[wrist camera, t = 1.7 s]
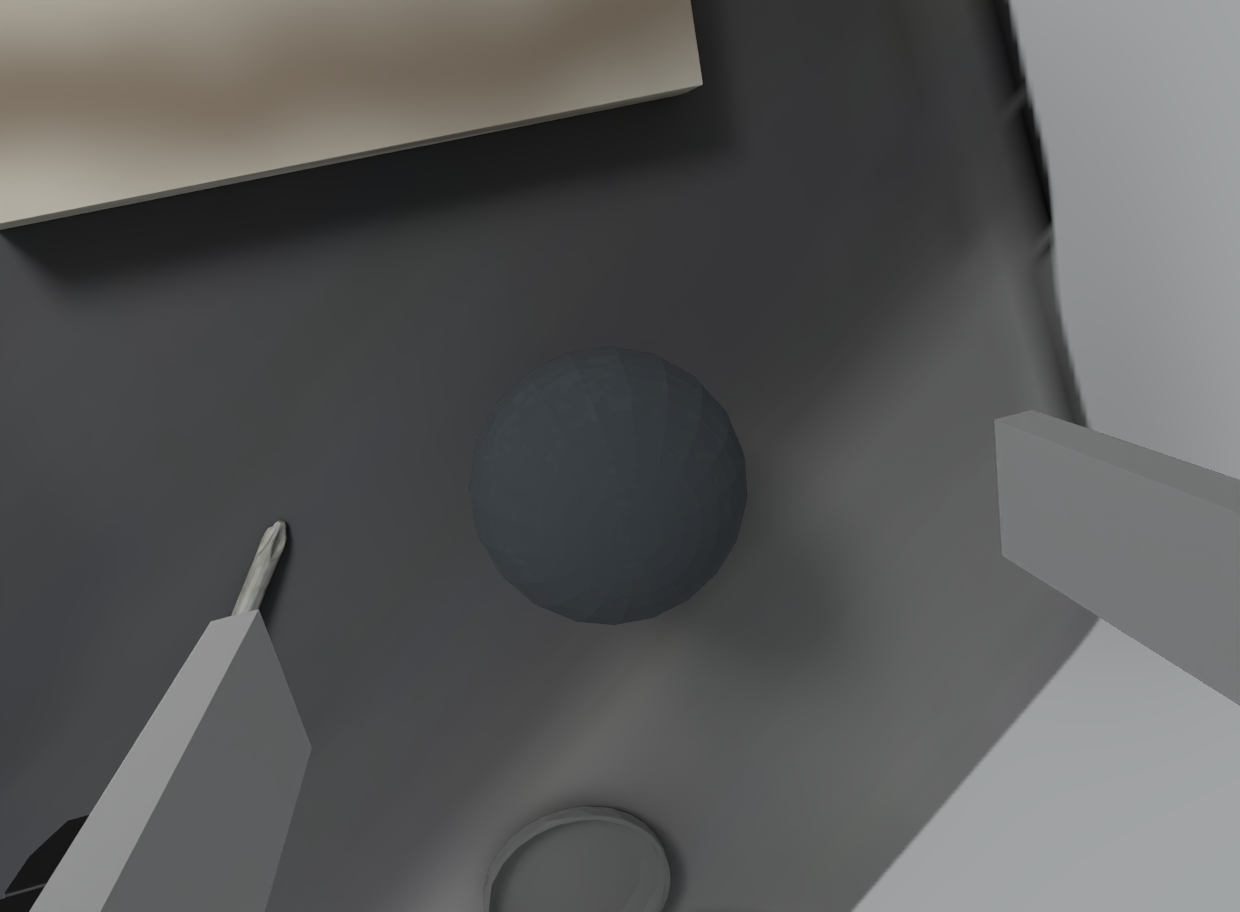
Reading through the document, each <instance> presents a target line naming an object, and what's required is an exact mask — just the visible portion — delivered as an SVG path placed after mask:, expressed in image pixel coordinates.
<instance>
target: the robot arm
mask: <svg viewBox="0 0 1240 912" xmlns="http://www.w3.org/2000/svg"><path fill="white" fill-rule="evenodd" d="M994 426H995V443H996V461H997V478H998V495H999V513H1000V530H1001V547H1002V556H1003V557H1005V558H1006V559H1008V560H1010V561H1011V562H1013V563H1014V564H1016V565H1018V566H1019V567H1021V568H1022V569H1024V570H1025V571H1027V572H1029V573H1030V574H1032V575H1033V576H1035V577H1037V578H1038V579H1040V580H1041V581H1043V582H1045V583H1046V584H1048V585H1049V586H1051V587H1052V588H1054V589H1056V590H1057V591H1059V592H1060V593H1062V594H1064V595H1065V596H1067V597H1068V598H1070V599H1072V600H1073V601H1075V602H1076V603H1078V604H1079V605H1081V606H1083V607H1084V608H1086V609H1087V610H1089V611H1091V612H1092V613H1094V614H1095V615H1097V616H1099V617H1100V618H1102V619H1103V620H1105V621H1107V622H1108V623H1110V624H1111V625H1113V626H1114V627H1116V628H1118V629H1119V630H1121V631H1122V632H1124V633H1126V634H1127V635H1129V636H1130V637H1132V638H1134V639H1136V640H1137V641H1138V642H1140V643H1141V644H1143V645H1145V646H1146V647H1148V648H1150V649H1151V650H1153V651H1154V652H1156V653H1158V654H1159V655H1161V656H1162V657H1164V658H1165V659H1167V660H1168V661H1170V662H1172V663H1173V664H1175V665H1176V666H1178V667H1180V668H1181V669H1183V670H1184V671H1186V672H1188V673H1189V674H1191V675H1192V676H1194V677H1196V678H1197V679H1199V680H1200V681H1202V682H1203V683H1205V684H1207V685H1208V686H1210V687H1212V688H1213V689H1215V690H1216V691H1218V692H1219V693H1221V694H1223V695H1224V696H1226V697H1227V698H1229V699H1230V700H1232V701H1234V702H1235V703H1237V704H1238V705H1240V480H1238V479H1235V478H1232V477H1229V476H1226V475H1223V474H1221V473H1218V472H1215V471H1212V470H1209V469H1205V468H1202V467H1200V466H1197V465H1194V464H1191V463H1188V462H1185V461H1182V460H1179V459H1176V458H1173V457H1170V456H1167V455H1164V454H1162V453H1159V452H1156V451H1153V450H1149V449H1147V448H1144V447H1141V446H1138V445H1135V444H1132V443H1129V442H1126V441H1123V440H1120V439H1117V438H1114V437H1111V436H1108V435H1105V434H1103V433H1099V432H1097V431H1094V430H1091V429H1088V428H1085V427H1082V426H1079V425H1076V424H1073V423H1070V422H1067V421H1064V420H1061V419H1058V418H1055V417H1052V416H1049V415H1046V414H1044V413H1041V412H1038V411H1035V410H1030V411H1026V412H1022V413H1018V414H1014V415H1010V416H1006V417H1002V418H999V419H995V420H994ZM310 752H311V745H310V743H309V740H308V737H307V735H306V732H305V729H304V727H303V724H302V722H301V719H300V716H299V714H298V711H297V708H296V706H295V703H294V700H293V698H292V695H291V693H290V690H289V687H288V685H287V682H286V679H285V677H284V674H283V671H282V669H281V666H280V664H279V661H278V658H277V656H276V653H275V650H274V648H273V645H272V643H271V640H270V637H269V635H268V632H267V629H266V627H265V624H264V621H263V619H262V616H261V614H260V611H259V609H257V610H253V611H250V612H246V613H242V614H238V615H234V616H230V617H226V618H222V619H219V620H215V621H211V622H210V624H209V625H208V627H207V628H206V630H205V632H204V633H203V635H202V636H201V638H200V640H199V641H198V643H197V644H196V646H195V648H194V649H193V651H192V652H191V654H190V656H189V657H188V659H187V660H186V662H185V664H184V665H183V667H182V668H181V670H180V671H179V673H178V675H177V676H176V678H175V679H174V681H173V683H172V684H171V686H170V687H169V689H168V691H167V692H166V694H165V695H164V697H163V699H162V700H161V702H160V703H159V705H158V707H157V708H156V710H155V711H154V713H153V715H152V716H151V718H150V719H149V721H148V723H147V724H146V726H145V727H144V729H143V731H142V732H141V734H140V735H139V737H138V739H137V740H136V742H135V743H134V745H133V747H132V748H131V750H130V751H129V753H128V755H127V756H126V758H125V759H124V761H123V763H122V764H121V766H120V767H119V769H118V771H117V772H116V774H115V775H114V777H113V778H112V780H111V782H110V783H109V785H108V786H107V788H106V790H105V791H104V793H103V794H102V796H101V798H100V799H99V801H98V802H97V804H96V806H95V807H94V809H93V810H92V812H91V814H90V815H87V816H83V817H80V818H76V819H73V820H69V821H67V822H66V823H65V824H64V825H63V826H62V827H61V828H59V829H58V830H57V831H56V832H55V833H54V834H53V835H52V836H51V837H50V838H49V839H48V840H47V841H46V842H44V843H43V844H42V845H41V846H40V847H39V848H38V849H37V850H36V851H35V852H34V853H33V854H32V855H30V856H29V858H28V859H27V861H26V862H25V864H24V865H23V867H22V868H21V870H20V871H19V873H18V874H17V876H16V877H15V879H14V880H13V881H12V883H11V884H10V886H9V887H8V889H7V890H6V892H5V894H6V897H5V898H4V899H1V900H0V912H265V909H266V905H267V902H268V898H269V895H270V891H271V888H272V884H273V881H274V877H275V874H276V870H277V867H278V863H279V860H280V856H281V853H282V849H283V846H284V842H285V839H286V836H287V832H288V829H289V825H290V822H291V818H292V815H293V811H294V808H295V804H296V801H297V797H298V794H299V790H300V787H301V783H302V780H303V776H304V773H305V769H306V766H307V762H308V759H309V755H310Z"/></svg>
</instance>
